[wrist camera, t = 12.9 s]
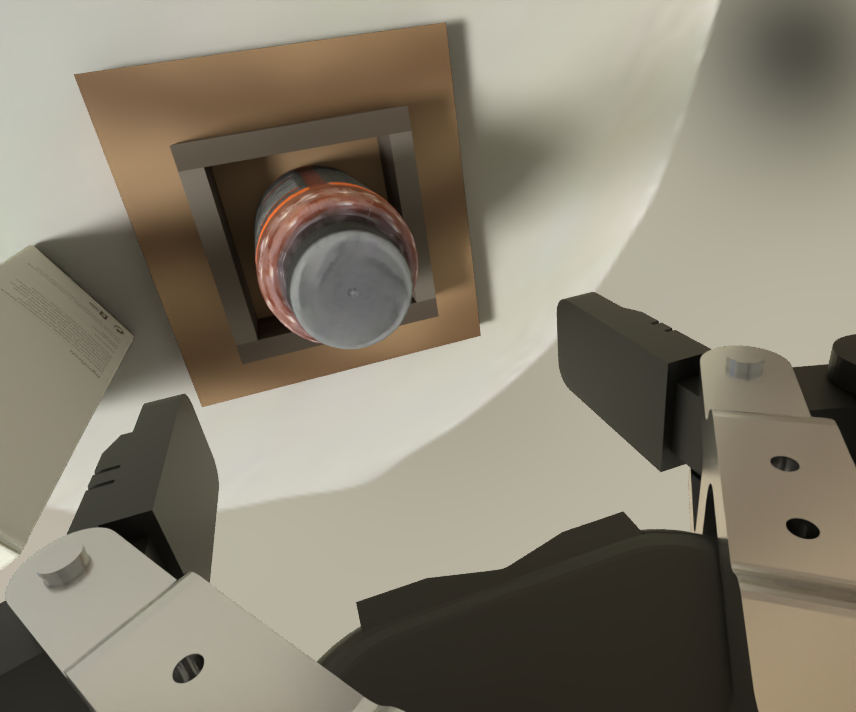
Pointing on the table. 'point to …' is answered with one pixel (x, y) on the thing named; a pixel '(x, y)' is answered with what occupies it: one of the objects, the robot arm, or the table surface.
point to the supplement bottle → (333, 258)
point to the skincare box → (46, 384)
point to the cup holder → (262, 164)
